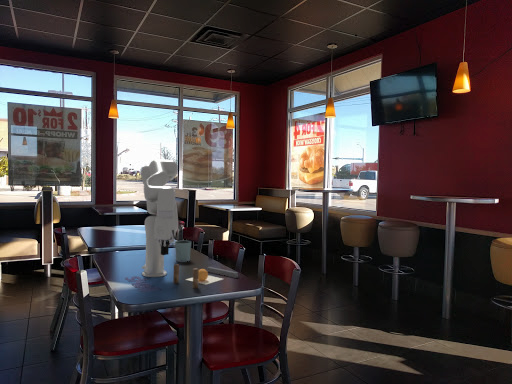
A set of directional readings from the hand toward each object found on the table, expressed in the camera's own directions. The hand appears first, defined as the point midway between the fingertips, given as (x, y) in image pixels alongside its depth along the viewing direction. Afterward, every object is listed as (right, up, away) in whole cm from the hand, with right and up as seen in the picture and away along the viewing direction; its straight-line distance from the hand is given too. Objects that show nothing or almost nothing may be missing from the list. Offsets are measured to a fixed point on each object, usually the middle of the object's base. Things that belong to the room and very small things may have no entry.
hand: (164, 254), depth 176 cm
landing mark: (+15, -17, +24) cm, 33 cm away
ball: (+14, -14, +21) cm, 29 cm away
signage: (-14, -17, +13) cm, 26 cm away
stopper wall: (+23, -17, +35) cm, 45 cm away
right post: (+13, -17, +8) cm, 23 cm away
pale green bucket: (-5, -15, +67) cm, 69 cm away
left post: (+2, -17, +16) cm, 23 cm away
